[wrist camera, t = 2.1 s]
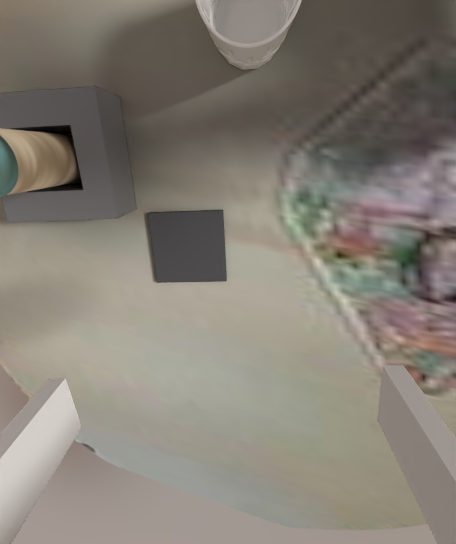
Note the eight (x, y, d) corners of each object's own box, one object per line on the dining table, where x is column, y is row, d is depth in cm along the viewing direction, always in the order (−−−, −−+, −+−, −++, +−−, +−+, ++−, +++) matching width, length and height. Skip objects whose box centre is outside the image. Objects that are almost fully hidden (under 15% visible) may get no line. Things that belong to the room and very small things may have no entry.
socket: (15, 103, 35) (-30, 94, 29) (120, 96, 34) (94, 86, 28) (42, 212, 39) (8, 222, 34) (136, 208, 38) (117, 218, 33)
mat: (149, 212, 38) (147, 213, 38) (222, 209, 38) (222, 210, 37) (158, 280, 42) (157, 282, 41) (226, 279, 41) (226, 281, 40)
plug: (51, 135, 36) (-89, 124, 21) (95, 133, 36) (-16, 119, 21) (62, 182, 38) (-60, 203, 23) (104, 180, 37) (8, 200, 22)
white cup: (279, 83, 33) (290, 56, 23) (204, 69, 33) (186, 37, 23) (298, -12, 30) (320, -86, 20) (216, -27, 30) (200, -108, 20)
